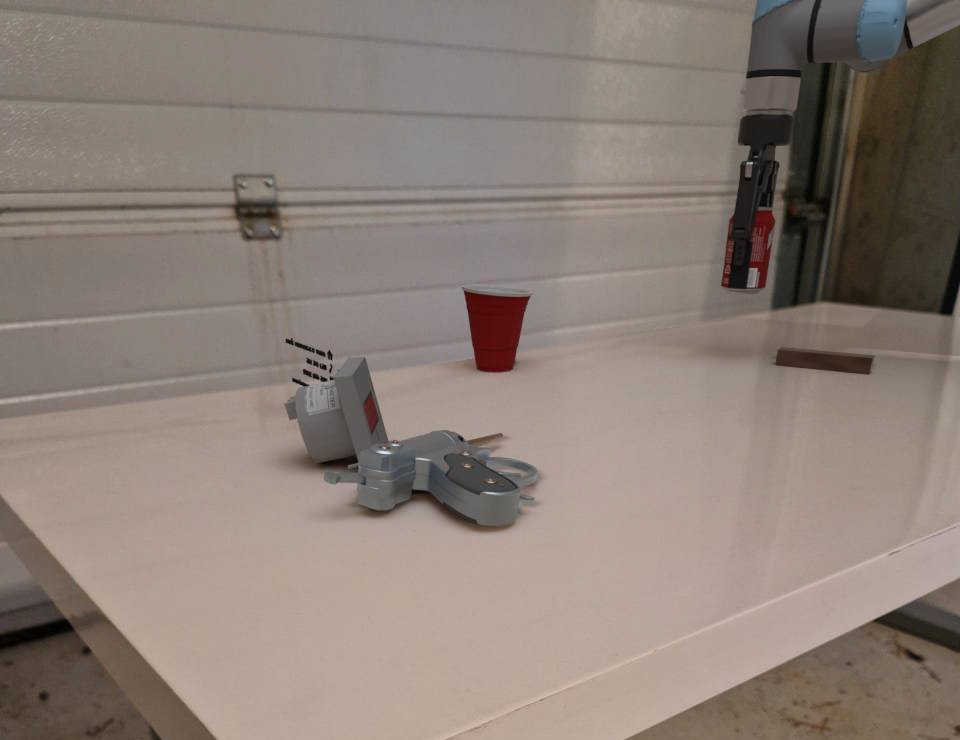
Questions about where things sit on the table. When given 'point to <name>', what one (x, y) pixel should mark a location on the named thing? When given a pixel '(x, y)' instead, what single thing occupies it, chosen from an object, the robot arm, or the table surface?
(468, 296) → the plastic cup
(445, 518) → the table surface
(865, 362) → the walnut stick
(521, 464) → the grey metal jointed piece
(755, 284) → the soda can
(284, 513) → the table surface
